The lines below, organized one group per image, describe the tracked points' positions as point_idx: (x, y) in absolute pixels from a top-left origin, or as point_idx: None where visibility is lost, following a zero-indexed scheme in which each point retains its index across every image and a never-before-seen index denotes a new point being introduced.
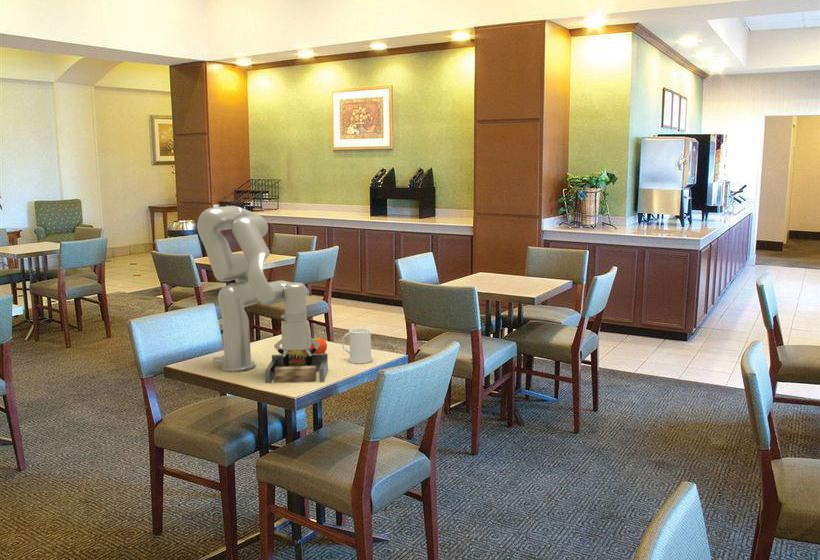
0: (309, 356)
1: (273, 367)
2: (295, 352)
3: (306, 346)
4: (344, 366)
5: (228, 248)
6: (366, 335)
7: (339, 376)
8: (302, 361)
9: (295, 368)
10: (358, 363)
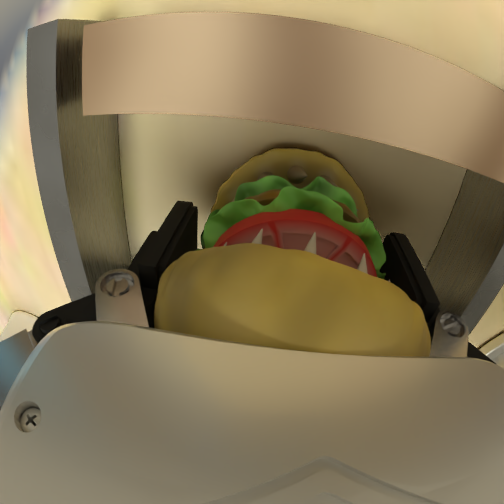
0: (141, 281)
1: (476, 259)
2: (337, 292)
3: (73, 368)
4: (62, 302)
5: None
6: None
7: (29, 145)
8: (234, 229)
9: (326, 30)
10: (31, 315)
